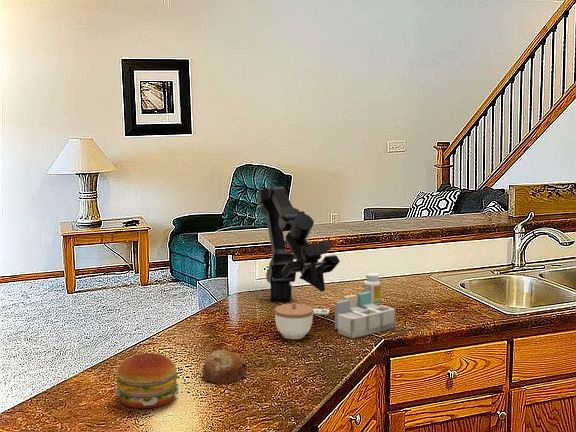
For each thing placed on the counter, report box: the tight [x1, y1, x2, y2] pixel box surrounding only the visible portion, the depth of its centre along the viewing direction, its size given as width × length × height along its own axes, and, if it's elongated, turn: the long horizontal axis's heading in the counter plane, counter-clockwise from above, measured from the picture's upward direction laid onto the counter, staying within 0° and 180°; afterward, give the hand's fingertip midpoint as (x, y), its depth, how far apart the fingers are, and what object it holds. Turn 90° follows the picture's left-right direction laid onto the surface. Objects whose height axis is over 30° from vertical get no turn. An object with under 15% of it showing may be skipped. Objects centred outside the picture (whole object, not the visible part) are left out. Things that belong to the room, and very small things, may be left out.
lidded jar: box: [274, 302, 314, 340], centre depth 196 cm, size 11×11×9 cm
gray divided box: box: [337, 304, 397, 339], centre depth 202 cm, size 6×17×6 cm, turn 127°
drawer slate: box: [334, 299, 360, 330], centre depth 199 cm, size 7×4×8 cm, turn 38°
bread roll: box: [202, 349, 247, 384], centre depth 167 cm, size 10×10×8 cm
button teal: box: [356, 291, 383, 311], centre depth 208 cm, size 7×4×8 cm, turn 38°
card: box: [313, 308, 330, 316], centre depth 220 cm, size 8×5×1 cm, turn 83°
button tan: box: [342, 294, 369, 315], centre depth 205 cm, size 7×4×8 cm, turn 38°
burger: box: [114, 352, 179, 409], centre depth 152 cm, size 14×14×10 cm
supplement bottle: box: [363, 272, 381, 306], centre depth 230 cm, size 5×5×10 cm
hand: (323, 290), depth 207 cm, fingers closed
